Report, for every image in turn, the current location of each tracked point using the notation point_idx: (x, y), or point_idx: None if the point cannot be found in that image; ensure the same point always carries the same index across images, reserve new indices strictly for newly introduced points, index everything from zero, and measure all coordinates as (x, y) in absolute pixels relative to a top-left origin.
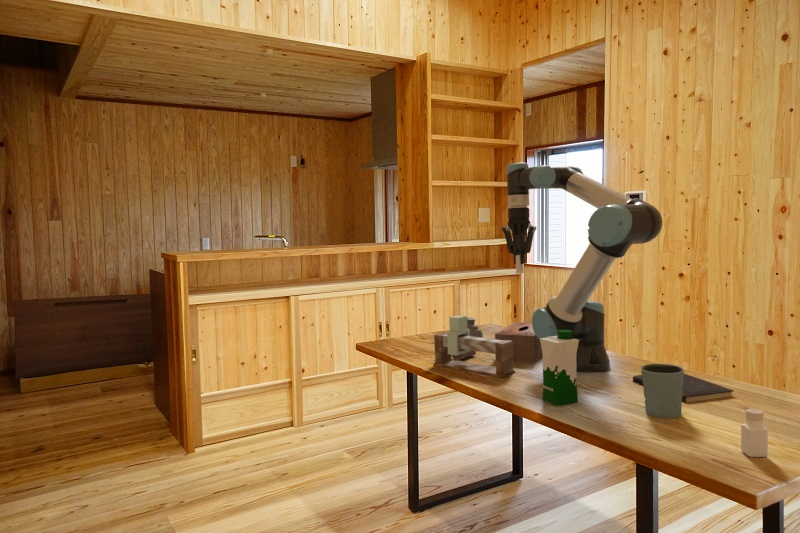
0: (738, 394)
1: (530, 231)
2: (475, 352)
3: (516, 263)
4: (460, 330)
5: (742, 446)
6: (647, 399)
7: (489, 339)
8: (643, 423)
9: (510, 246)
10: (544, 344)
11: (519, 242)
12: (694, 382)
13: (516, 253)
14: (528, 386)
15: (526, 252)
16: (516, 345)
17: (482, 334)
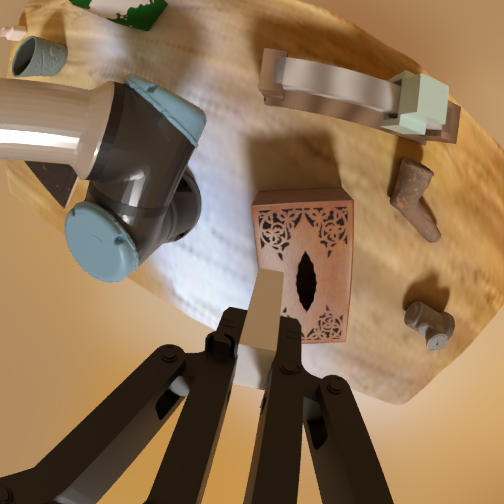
0: (25, 165)
1: (26, 479)
2: (390, 200)
3: (275, 306)
4: (405, 86)
5: (24, 29)
6: (55, 43)
7: (321, 82)
8: (69, 23)
9: (332, 428)
10: None
11: (207, 448)
12: (42, 165)
13: (271, 369)
14: (207, 39)
15: (162, 348)
16: (296, 196)
17: (405, 321)
